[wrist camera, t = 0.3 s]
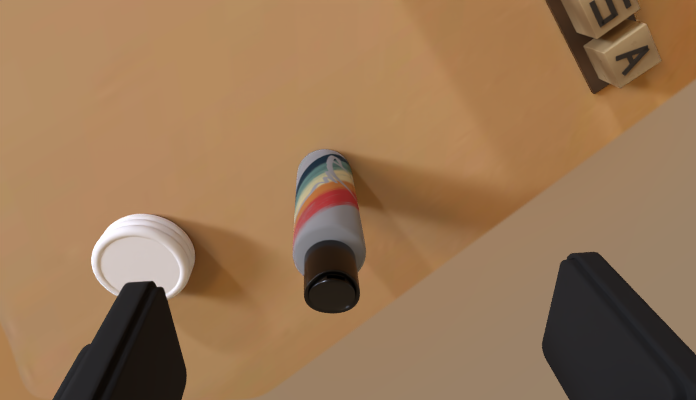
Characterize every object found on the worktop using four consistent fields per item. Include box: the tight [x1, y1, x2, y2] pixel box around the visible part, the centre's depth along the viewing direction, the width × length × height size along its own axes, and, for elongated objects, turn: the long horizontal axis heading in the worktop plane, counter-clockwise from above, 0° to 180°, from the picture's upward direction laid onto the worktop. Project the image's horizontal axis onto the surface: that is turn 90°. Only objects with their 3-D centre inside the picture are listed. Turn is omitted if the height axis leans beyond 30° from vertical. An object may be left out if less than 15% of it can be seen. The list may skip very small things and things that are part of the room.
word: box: [546, 0, 662, 94], centre depth 42 cm, size 12×6×4 cm, turn 38°
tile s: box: [561, 0, 640, 39], centre depth 40 cm, size 4×4×4 cm
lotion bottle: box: [293, 149, 366, 313], centre depth 40 cm, size 6×6×20 cm
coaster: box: [91, 214, 195, 300], centre depth 50 cm, size 10×10×4 cm
